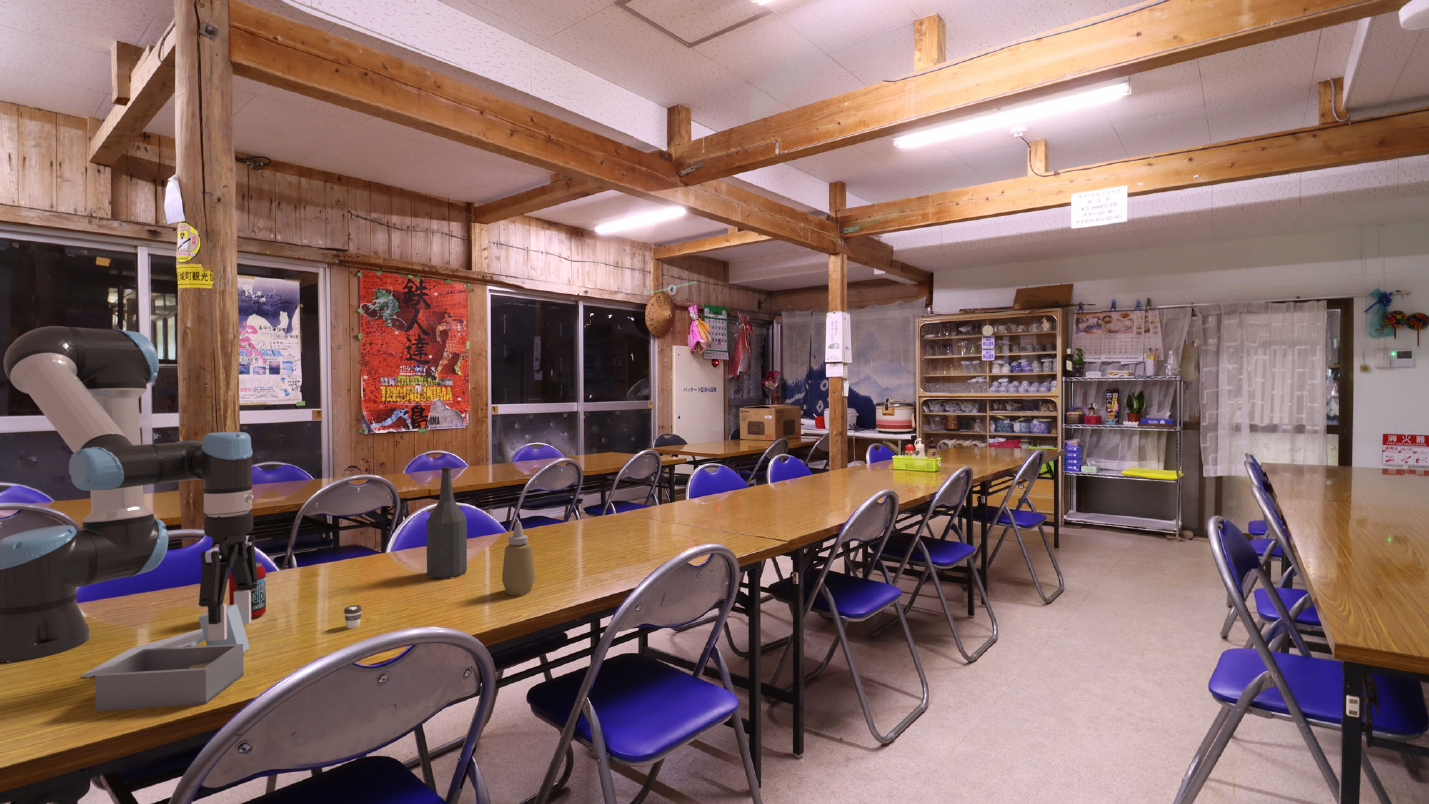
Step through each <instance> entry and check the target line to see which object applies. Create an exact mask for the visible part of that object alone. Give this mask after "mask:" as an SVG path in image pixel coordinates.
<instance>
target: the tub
mask: <svg viewBox="0 0 1429 804" xmlns="http://www.w3.org/2000/svg"><path fill="white" fill-rule="evenodd" d="M205 663H210V664H208V665H207V666H206V667H204V668H195V669H189V667H190V666H193V665H199V664H205ZM244 674H245V672H244V652H243V644H231V645H212V646H207V645H196V646H193V647H174V648H154V649H143V650H141V651H139V652H137V653H136V654H134V655H132V656H130V657H128V658H127V659H125V660H123V661H121V662H119V663H118V664H116V665H114V666H112V667H110V668H109V669H107V670H105V671H103V672H102V673H100V674H98V675H96V676H94V691H95V693H94V695H95V697H94V698H95V712H107V711H108V712H110V711H123V710H135V709H136V710H139V709H150V708H165V707H166V708H168V707H181V706H195V705H197V706H198V705H206V704H208V703H210V702H211V701H212V700H213V699H215V698H216V697H217V696H219V695H220V694H222V693H223V692H224V691H225V690H226V689H227V688H229V687H230V686H231V685H233V684H234V683H235V682H236V681H238V680H239V679H241V678H242V677H243V676H244Z"/></svg>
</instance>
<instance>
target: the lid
mask: <svg viewBox="0 0 1429 804" xmlns="http://www.w3.org/2000/svg"><path fill="white" fill-rule="evenodd" d="M226 615H227V639H225V640H212V641H209V640H208V611H207V612H205V613H204V614H201V615H200V616H198V622H199V623H200V629H196V630H191V631H189V632H185V633H181V634H177V635H173V636H170V637H167V638H163V639H160V640H156V641H153V642H149V643H144V644H141V645H138V646H135V647H131V648H129V649H127V650H125V651H123V652H121V653H119V654H118V655H116V656H114V657H112V658H110V659H108V660H107V661H105V662H103V663H101V664H99V665H97V666H95V667H94V668H91V669H90V670H88V671H86V672H84V673H83V674H81V677H82V678H83V677H86V678H92V677H95V676H96V675H98V674H100V673H102V672H103V671H105V670H107V669H109V668H110V667H112V666H114V665H116V664H118V663H119V662H121V661H123V660H125V659H127V658H128V657H130V656H132V655H134V654H136V653H137V652H139V651H141V650H143V649H154V648H174V647H193V646H199V645H200V644H201V643H203V642H204V641H205V644H206V646H212V645H231V644H243V653H244V652H246V651H247V650H249V649H250V648H251V646H250V644H249V640H248V635H247V632H246V629H245V626H244V624H243V622H242V619H241V616H240V612H239V609H238V606H237V604H234V605H230V604H229V605H226Z"/></svg>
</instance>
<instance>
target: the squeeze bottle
mask: <svg viewBox="0 0 1429 804" xmlns="http://www.w3.org/2000/svg"><path fill="white" fill-rule="evenodd" d="M522 526H523V525H522V523H521V521H516V522H515V524H514V529H513V533H512V535H510V536H508V545H506V546H505V548H504V556H503V565H502V573H501V575H502V577H501V581H502V584H503V587H504V590H505V593H506V595H508V594H509V595H508V596H511V595H519V596H522V595H521V594H525V595H528V594H529V592H530V591H531V592H532V588H533V585H534V582H535V579H536V574H535V565H534V564H535V563H534V556H533V547H532V545H531V543H529V536H528V535H526V534H524V530H523V527H522ZM531 592H530V593H531ZM527 593H528V594H527Z"/></svg>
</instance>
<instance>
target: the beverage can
mask: <svg viewBox="0 0 1429 804" xmlns="http://www.w3.org/2000/svg"><path fill="white" fill-rule="evenodd" d="M256 568H257V578H258V580H257V583H253V584H257V588H256V589H250V590H251V620H254V619H258V618H260V617H261V616H263V615H264V614H265V613H266V612H267V585H266V583H267V576H266V575H267V574H266V573H267V572H266V568H265V566H264V565H263V563H262V561H256ZM251 577H252V576H251ZM228 589H229V591H228V592H229V601H228V603H229V606H230V605H234V592H235V591H239V590H237V588H236V584H235V581H234V578H233V574H232V571H231V570H230V571H229V576H228Z"/></svg>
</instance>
